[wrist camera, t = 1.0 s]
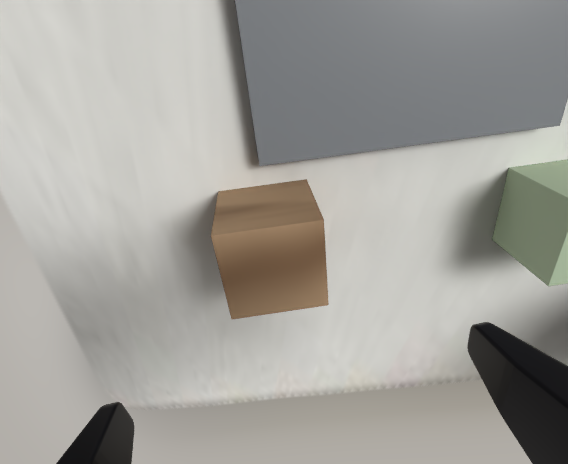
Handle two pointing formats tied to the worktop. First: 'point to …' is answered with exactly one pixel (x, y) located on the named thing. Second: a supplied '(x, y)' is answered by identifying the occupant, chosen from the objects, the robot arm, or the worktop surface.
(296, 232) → the brown wooden cube
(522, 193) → the sage brick
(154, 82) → the worktop surface
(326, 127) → the baseplate
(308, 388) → the worktop surface
